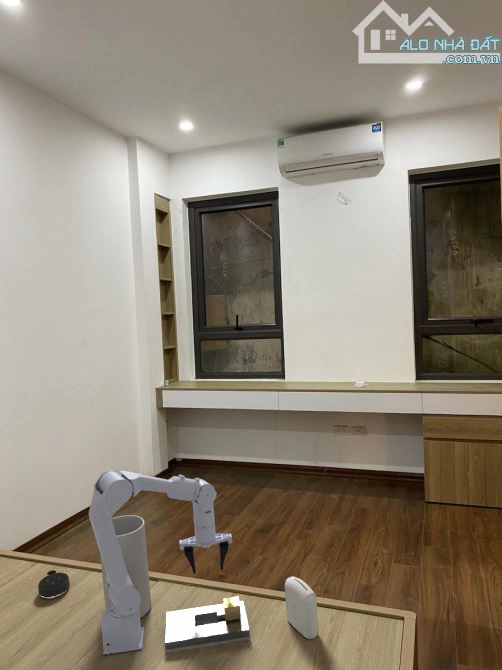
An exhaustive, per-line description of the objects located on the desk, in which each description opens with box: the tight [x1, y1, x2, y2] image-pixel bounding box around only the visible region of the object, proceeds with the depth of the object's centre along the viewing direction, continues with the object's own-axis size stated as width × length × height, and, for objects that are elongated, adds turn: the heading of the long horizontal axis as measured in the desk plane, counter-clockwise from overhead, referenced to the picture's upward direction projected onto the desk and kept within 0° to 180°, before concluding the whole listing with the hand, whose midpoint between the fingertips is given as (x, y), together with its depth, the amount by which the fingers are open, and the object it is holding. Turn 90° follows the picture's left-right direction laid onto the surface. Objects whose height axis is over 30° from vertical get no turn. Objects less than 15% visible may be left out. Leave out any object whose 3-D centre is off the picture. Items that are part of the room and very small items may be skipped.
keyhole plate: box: [164, 600, 251, 654], centre depth 128 cm, size 21×12×3 cm, turn 98°
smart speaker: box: [37, 572, 71, 597], centre depth 150 cm, size 9×9×4 cm
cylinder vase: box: [99, 514, 152, 619], centre depth 138 cm, size 12×12×25 cm
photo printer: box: [284, 576, 319, 640], centre depth 127 cm, size 10×4×12 cm, turn 29°
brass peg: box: [222, 596, 241, 621], centre depth 129 cm, size 4×4×6 cm
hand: (208, 569), depth 138 cm, fingers open, 7 cm apart
